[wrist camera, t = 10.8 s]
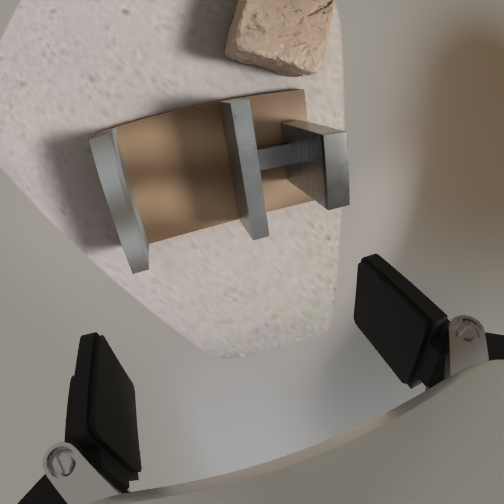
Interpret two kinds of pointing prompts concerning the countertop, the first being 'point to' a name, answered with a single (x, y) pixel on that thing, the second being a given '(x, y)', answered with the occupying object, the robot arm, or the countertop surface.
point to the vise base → (186, 170)
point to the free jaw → (283, 163)
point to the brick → (280, 34)
